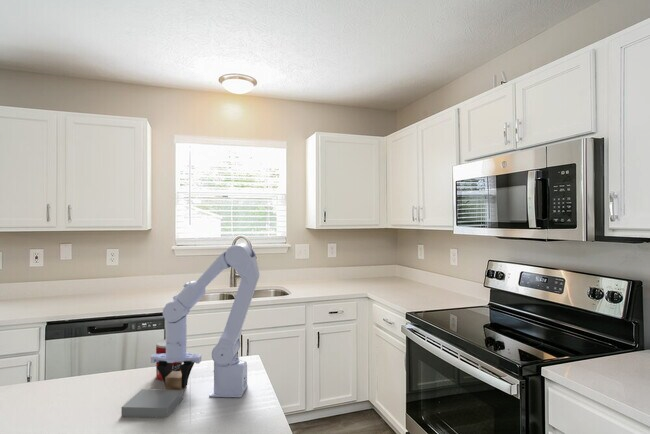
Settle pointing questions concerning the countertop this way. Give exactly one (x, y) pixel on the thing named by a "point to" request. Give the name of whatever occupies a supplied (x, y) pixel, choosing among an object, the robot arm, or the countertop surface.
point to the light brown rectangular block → (174, 381)
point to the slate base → (152, 403)
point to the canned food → (160, 350)
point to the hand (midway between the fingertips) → (176, 386)
